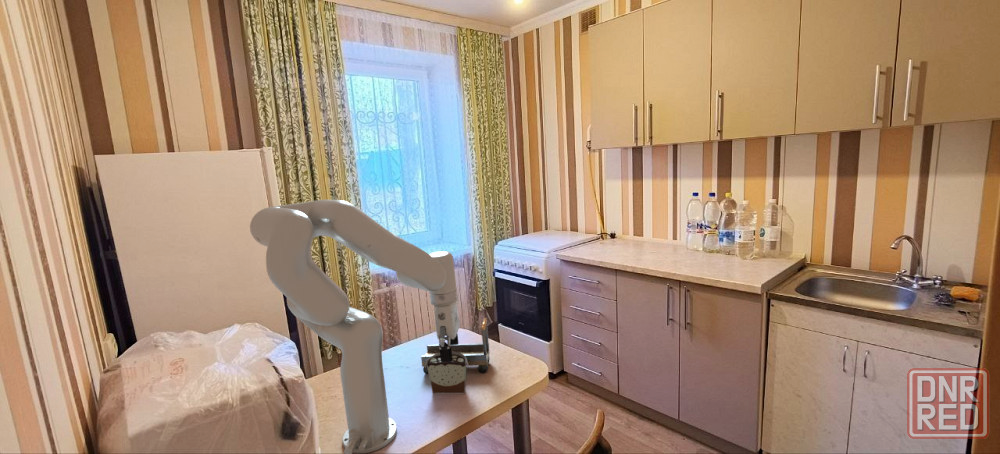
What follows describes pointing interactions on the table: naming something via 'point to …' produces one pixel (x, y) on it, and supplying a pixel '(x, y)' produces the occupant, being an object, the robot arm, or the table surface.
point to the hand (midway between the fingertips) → (450, 352)
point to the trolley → (466, 351)
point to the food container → (447, 374)
